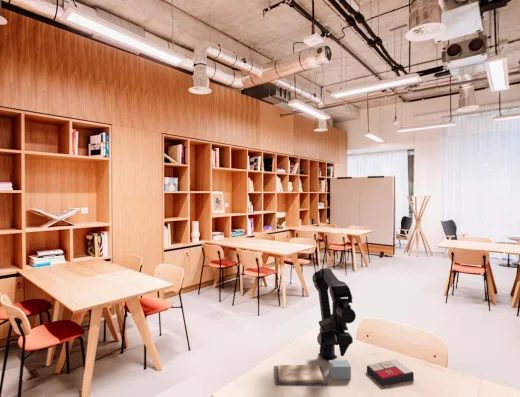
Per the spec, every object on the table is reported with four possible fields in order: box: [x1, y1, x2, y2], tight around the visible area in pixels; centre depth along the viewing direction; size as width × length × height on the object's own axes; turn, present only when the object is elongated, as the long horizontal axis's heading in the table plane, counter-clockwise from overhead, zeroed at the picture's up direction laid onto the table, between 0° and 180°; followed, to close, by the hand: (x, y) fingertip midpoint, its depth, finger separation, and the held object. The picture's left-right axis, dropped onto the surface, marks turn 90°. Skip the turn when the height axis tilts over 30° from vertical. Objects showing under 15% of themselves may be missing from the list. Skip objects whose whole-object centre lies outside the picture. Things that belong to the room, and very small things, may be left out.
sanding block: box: [328, 359, 352, 381], centre depth 133 cm, size 8×5×6 cm, turn 90°
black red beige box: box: [366, 358, 415, 387], centre depth 133 cm, size 11×4×15 cm
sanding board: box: [273, 364, 329, 386], centre depth 133 cm, size 21×13×2 cm, turn 89°
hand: (339, 350), depth 133 cm, fingers open, 9 cm apart
